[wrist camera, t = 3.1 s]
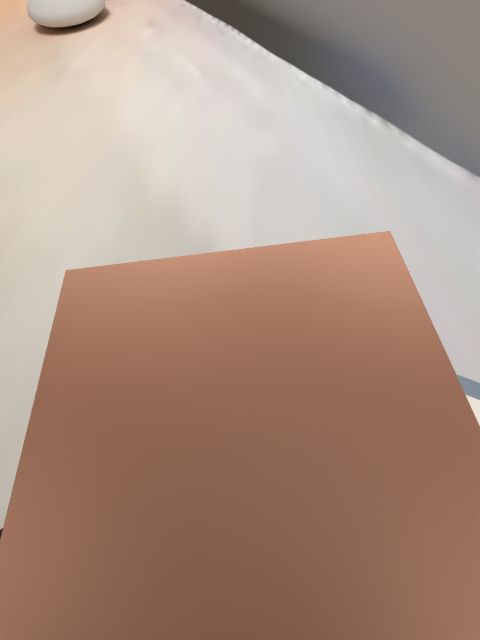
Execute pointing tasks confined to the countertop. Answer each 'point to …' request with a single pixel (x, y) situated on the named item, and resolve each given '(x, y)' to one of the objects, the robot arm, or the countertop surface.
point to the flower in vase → (63, 11)
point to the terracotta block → (246, 456)
